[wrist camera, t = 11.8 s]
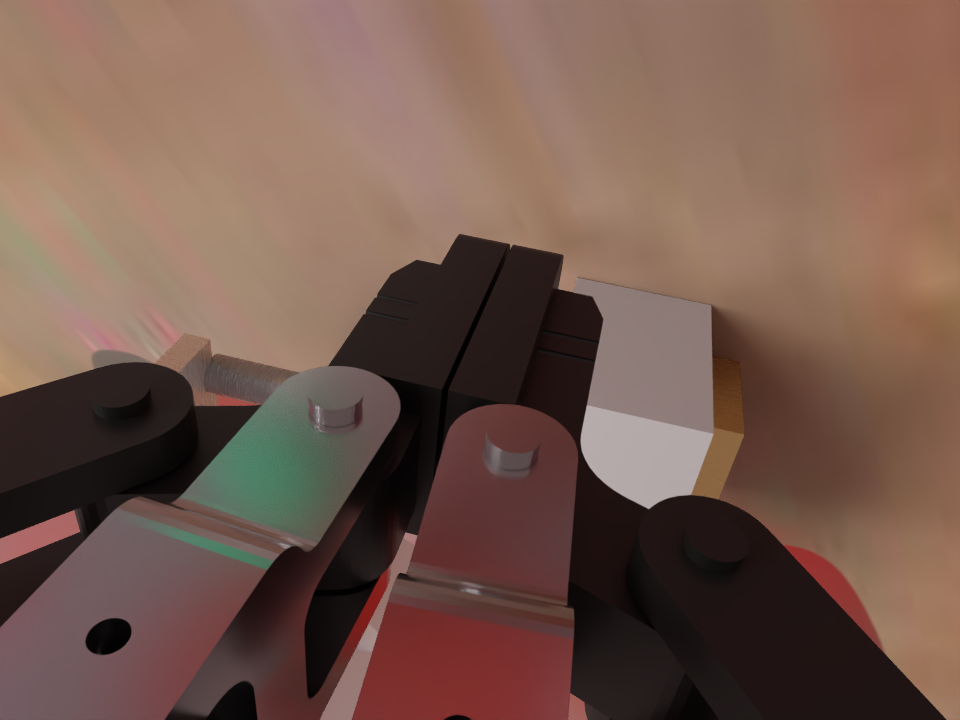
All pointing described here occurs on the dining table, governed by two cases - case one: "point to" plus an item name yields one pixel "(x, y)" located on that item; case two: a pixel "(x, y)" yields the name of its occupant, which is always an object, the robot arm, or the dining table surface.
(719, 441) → the spacer
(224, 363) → the shaft
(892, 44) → the dining table surface
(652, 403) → the block
